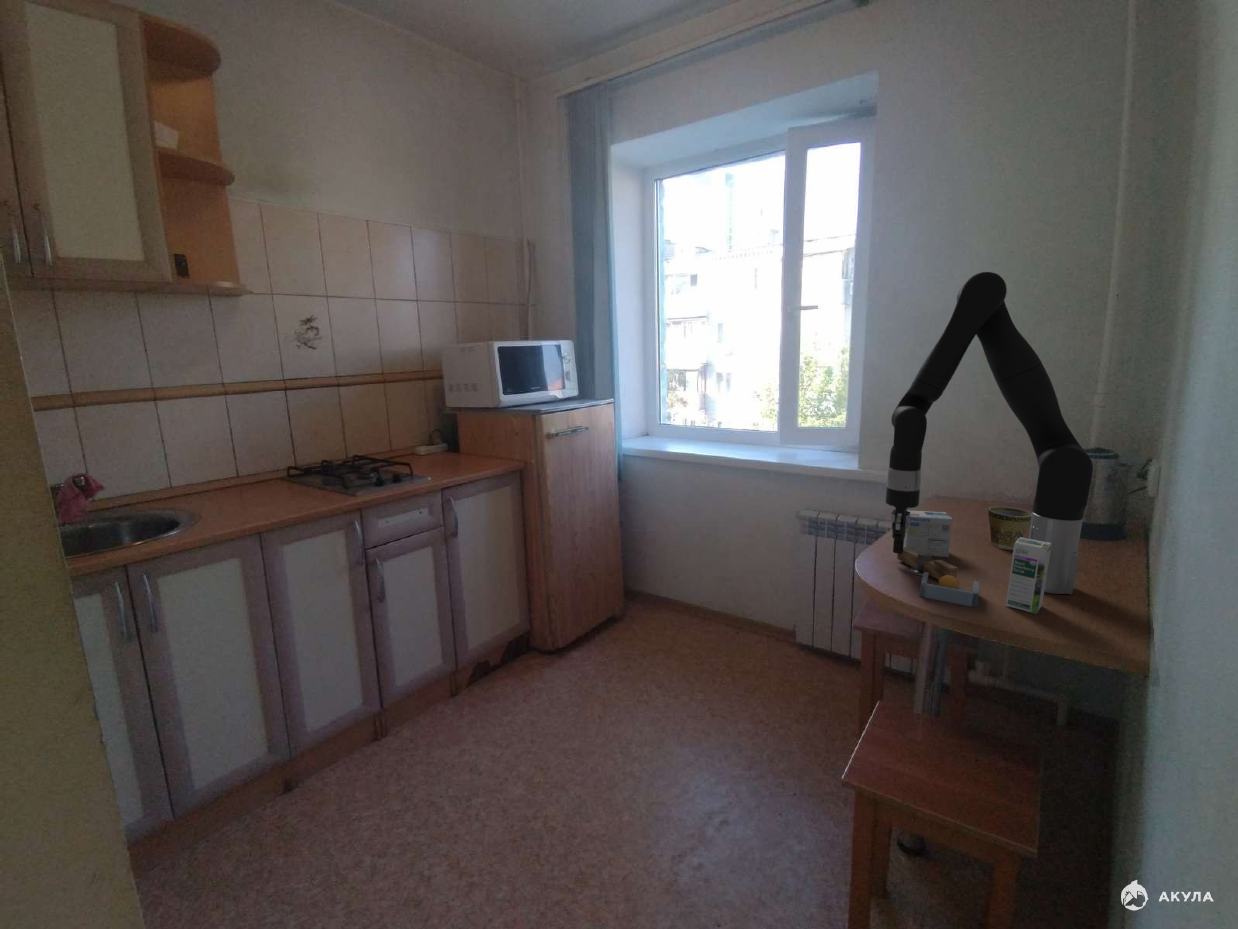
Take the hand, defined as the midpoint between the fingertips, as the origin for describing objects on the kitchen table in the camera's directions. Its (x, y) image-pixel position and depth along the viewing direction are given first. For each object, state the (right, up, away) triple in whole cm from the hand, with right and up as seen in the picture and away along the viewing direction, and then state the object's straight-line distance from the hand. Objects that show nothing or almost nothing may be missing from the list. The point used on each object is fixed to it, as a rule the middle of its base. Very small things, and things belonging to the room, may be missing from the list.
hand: (897, 552), depth 147 cm
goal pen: (+3, -7, -17) cm, 19 cm away
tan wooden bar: (+4, -4, -4) cm, 7 cm away
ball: (+3, -3, -17) cm, 17 cm away
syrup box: (+16, -8, -23) cm, 29 cm away
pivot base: (+4, -4, -4) cm, 7 cm away
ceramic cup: (+37, 0, +15) cm, 40 cm away
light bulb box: (+12, -2, +10) cm, 15 cm away
